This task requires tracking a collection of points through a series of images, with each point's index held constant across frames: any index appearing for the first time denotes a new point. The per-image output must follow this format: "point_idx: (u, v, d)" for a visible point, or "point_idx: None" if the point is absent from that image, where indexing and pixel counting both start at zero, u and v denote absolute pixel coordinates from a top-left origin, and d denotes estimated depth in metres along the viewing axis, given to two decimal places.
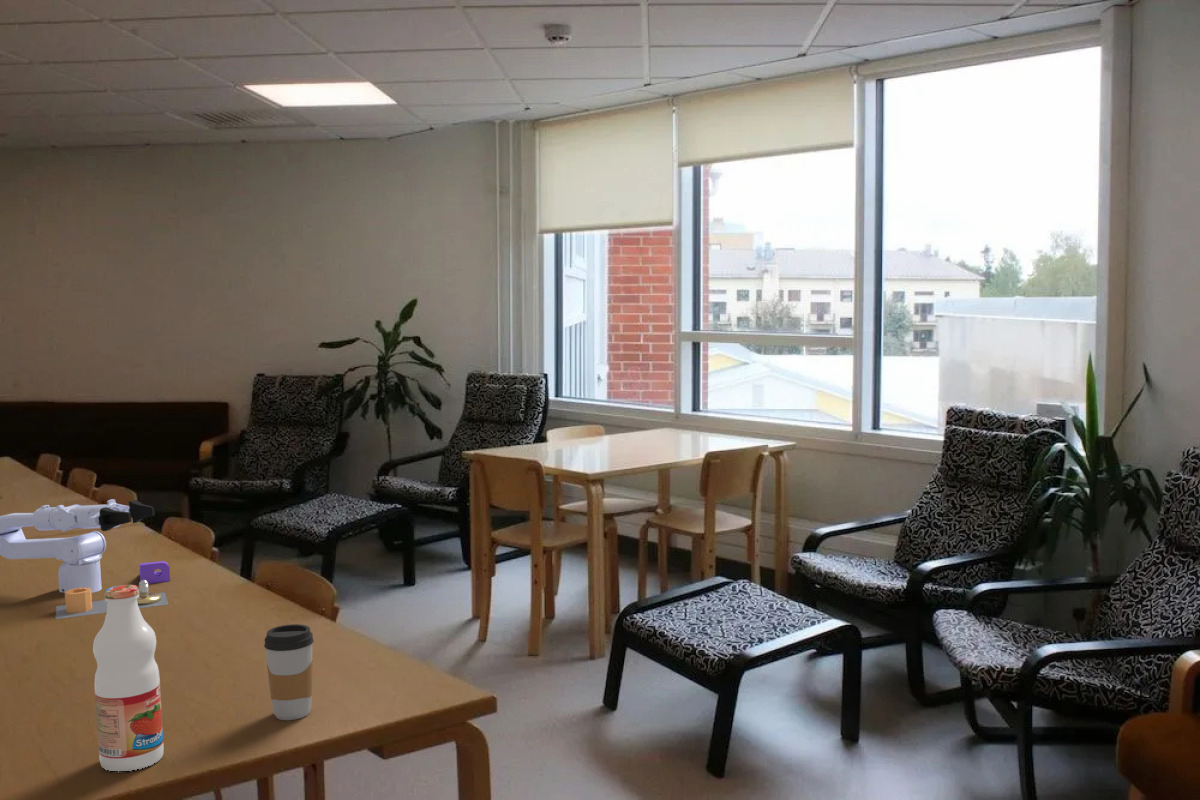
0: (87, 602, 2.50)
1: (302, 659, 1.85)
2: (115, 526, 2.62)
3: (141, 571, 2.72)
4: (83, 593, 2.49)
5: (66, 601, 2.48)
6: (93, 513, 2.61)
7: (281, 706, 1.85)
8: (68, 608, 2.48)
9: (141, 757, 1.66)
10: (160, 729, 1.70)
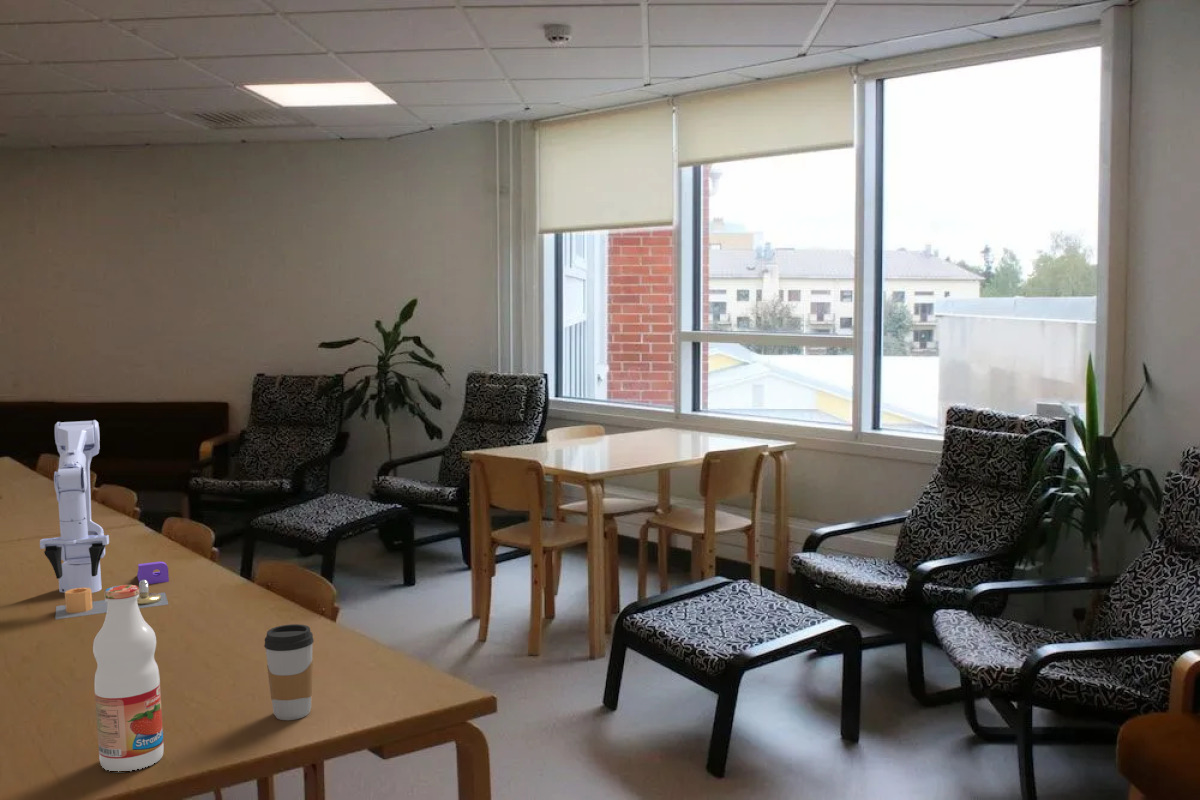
0: (87, 602, 2.50)
1: (302, 659, 1.85)
2: None
3: (140, 572, 2.72)
4: (83, 593, 2.49)
5: (66, 601, 2.48)
6: (60, 526, 2.47)
7: (281, 706, 1.85)
8: (68, 608, 2.48)
9: (141, 757, 1.66)
10: (160, 729, 1.70)
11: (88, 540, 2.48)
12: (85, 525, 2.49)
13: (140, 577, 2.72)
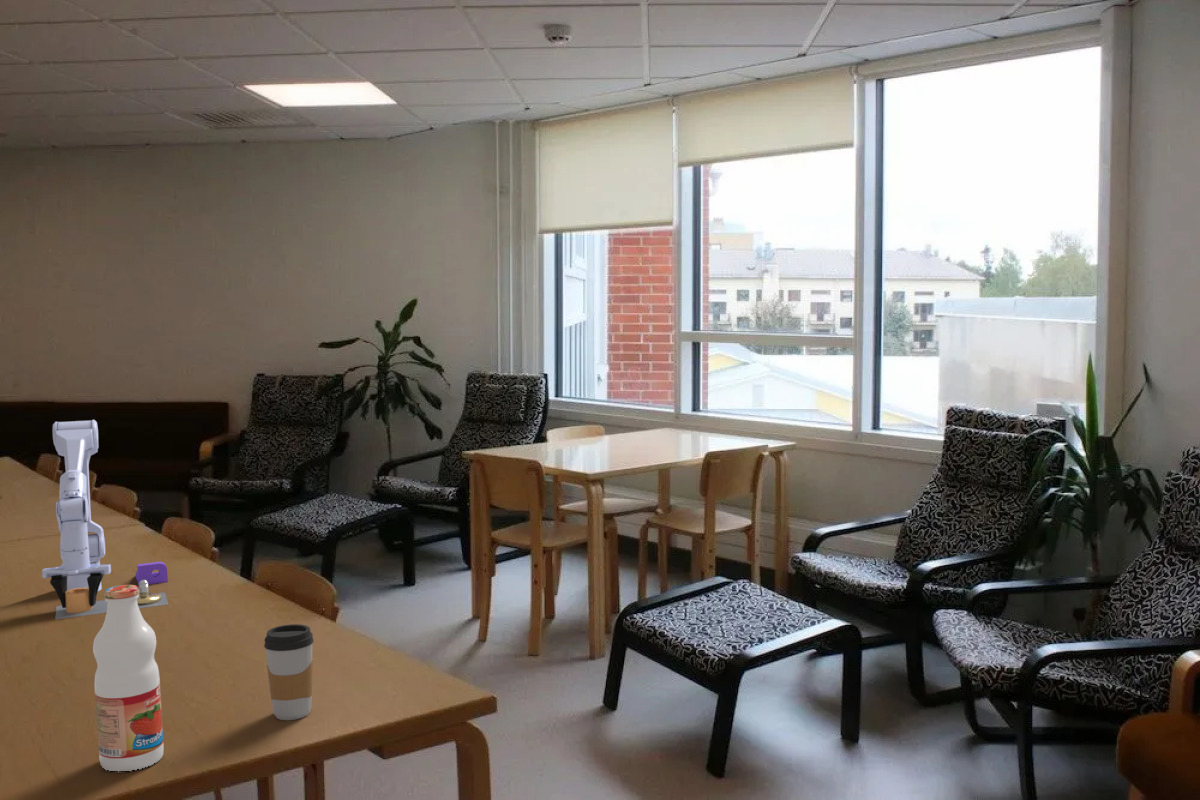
0: (87, 602, 2.50)
1: (302, 659, 1.85)
2: None
3: (139, 572, 2.71)
4: (83, 593, 2.49)
5: (66, 601, 2.48)
6: (62, 556, 2.48)
7: (281, 706, 1.85)
8: (68, 608, 2.48)
9: (141, 757, 1.66)
10: (160, 729, 1.70)
11: (90, 570, 2.49)
12: (87, 554, 2.49)
13: (139, 577, 2.71)
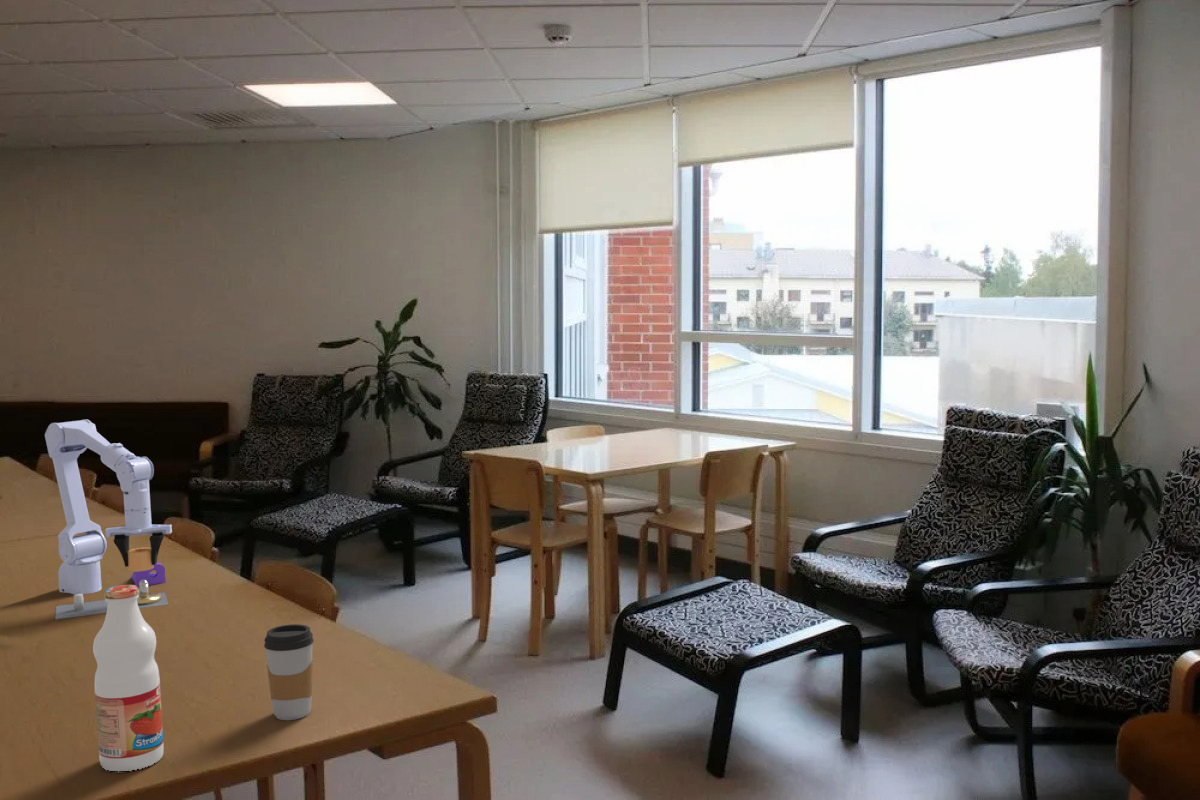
0: (149, 561, 2.55)
1: (302, 659, 1.85)
2: None
3: (137, 573, 2.70)
4: (145, 552, 2.54)
5: (129, 560, 2.54)
6: (125, 515, 2.53)
7: (281, 706, 1.85)
8: (131, 567, 2.53)
9: (141, 757, 1.66)
10: (160, 729, 1.70)
11: (152, 529, 2.54)
12: (149, 514, 2.54)
13: (137, 578, 2.71)
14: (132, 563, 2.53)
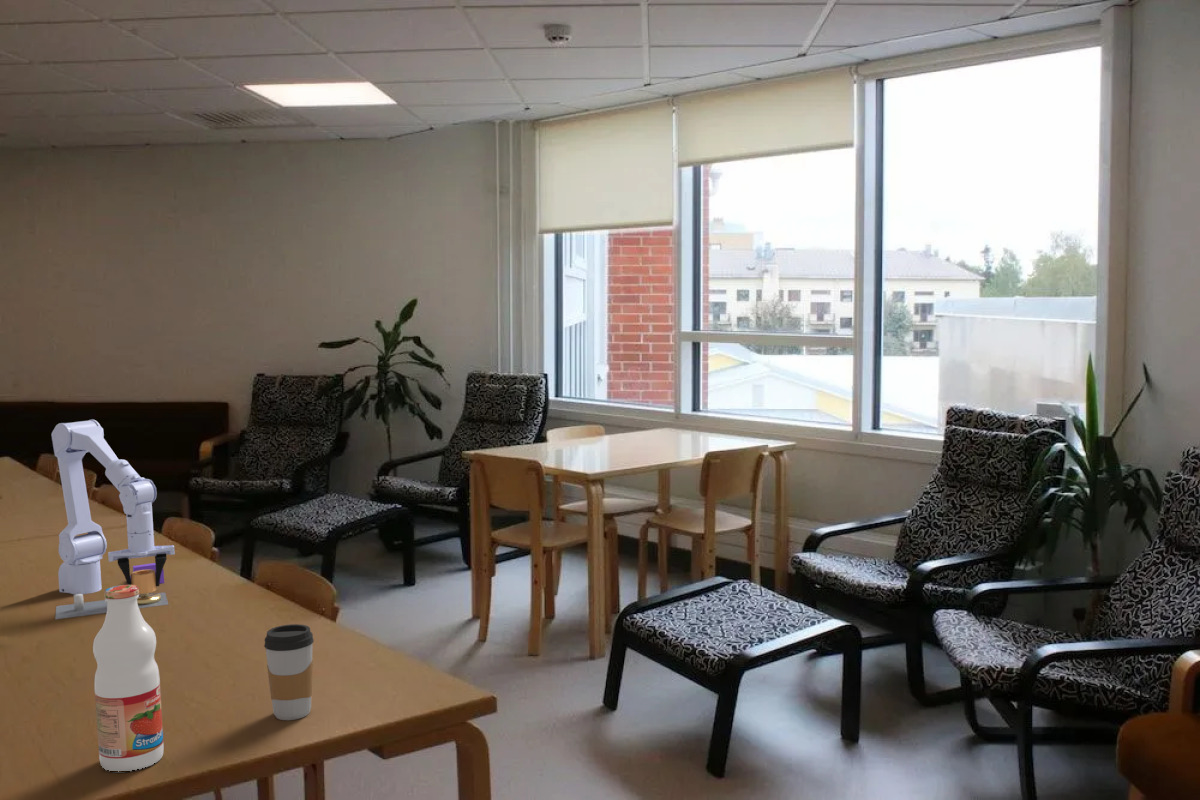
0: (154, 583, 2.56)
1: (302, 659, 1.85)
2: None
3: None
4: (151, 574, 2.55)
5: (133, 582, 2.54)
6: (129, 538, 2.53)
7: (281, 706, 1.85)
8: None
9: (141, 757, 1.66)
10: (160, 729, 1.70)
11: (157, 551, 2.55)
12: (153, 536, 2.56)
13: None
14: (138, 586, 2.54)
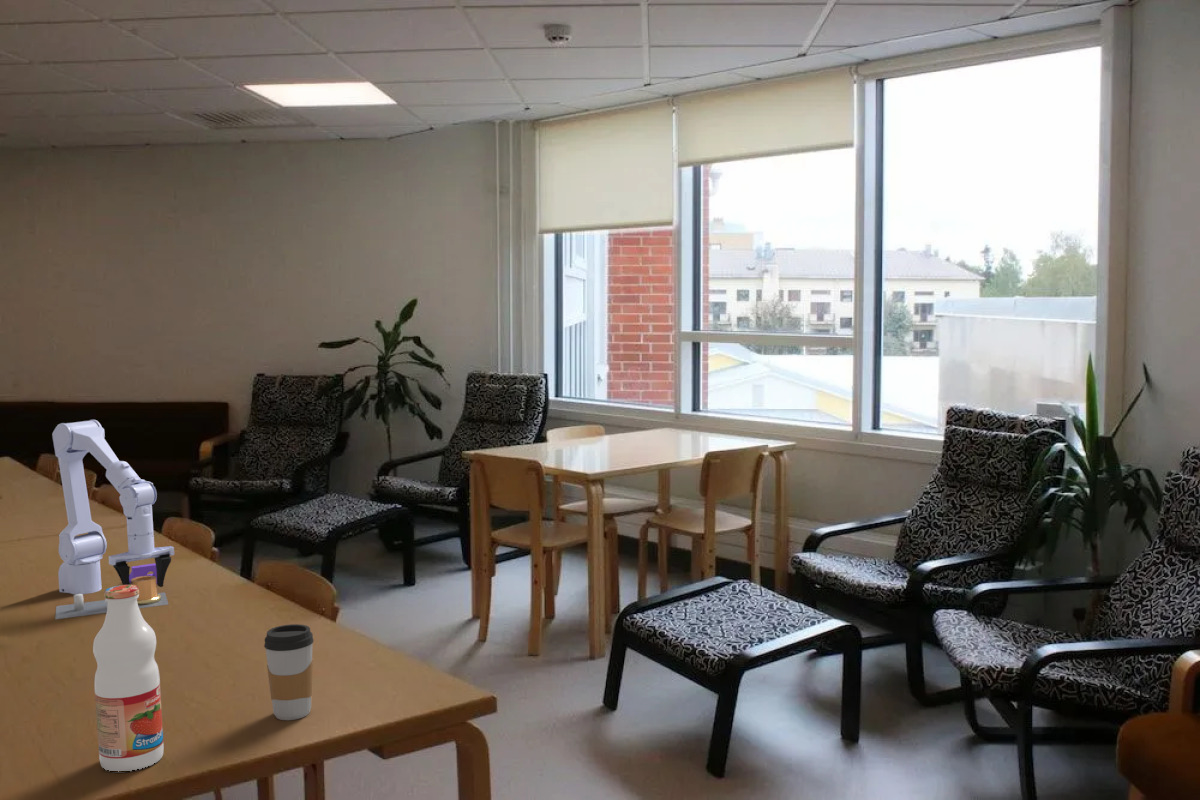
0: (155, 588, 2.57)
1: (302, 659, 1.85)
2: None
3: (134, 574, 2.69)
4: (153, 579, 2.56)
5: None
6: (131, 541, 2.53)
7: (281, 706, 1.85)
8: (139, 596, 2.54)
9: (141, 757, 1.66)
10: (160, 729, 1.70)
11: (159, 552, 2.57)
12: (153, 538, 2.57)
13: None
14: (141, 592, 2.54)
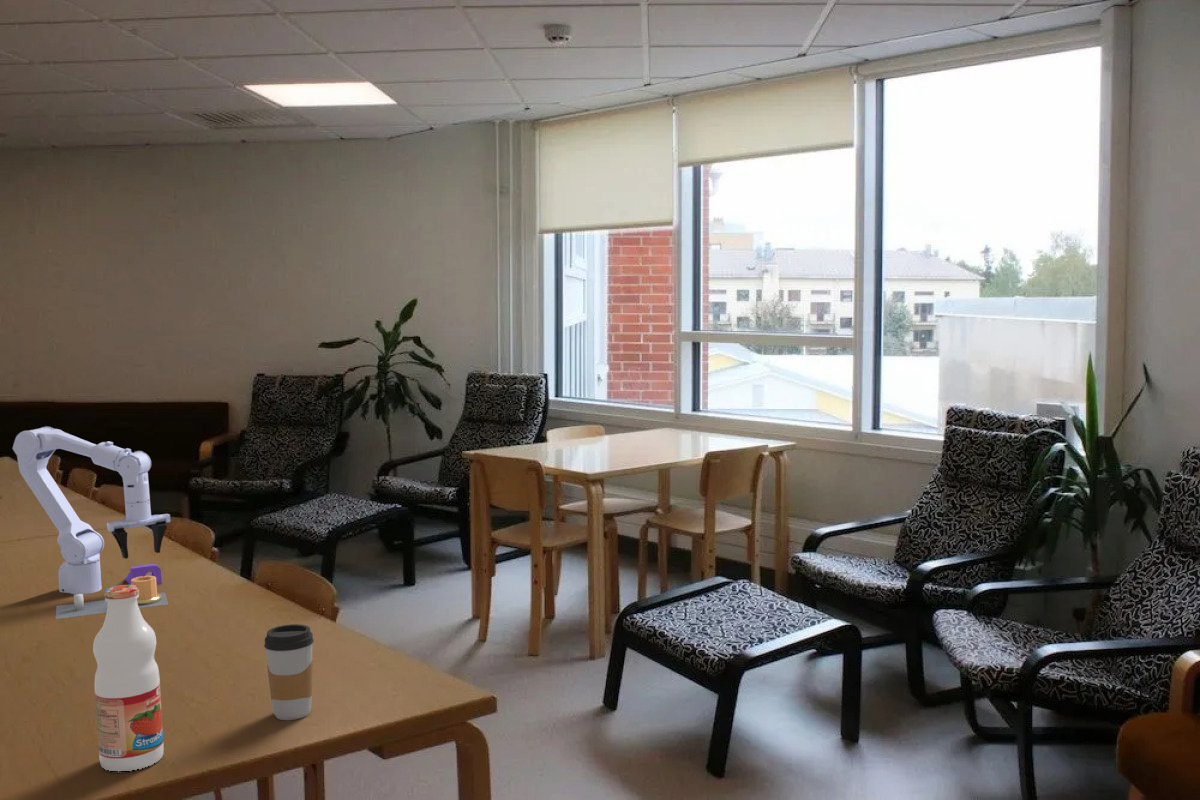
0: (155, 588, 2.57)
1: (302, 659, 1.85)
2: None
3: (133, 574, 2.69)
4: (153, 579, 2.56)
5: None
6: (128, 508, 2.62)
7: (281, 706, 1.85)
8: (139, 596, 2.54)
9: (141, 757, 1.66)
10: (160, 729, 1.70)
11: (156, 519, 2.66)
12: None
13: None
14: (141, 592, 2.54)
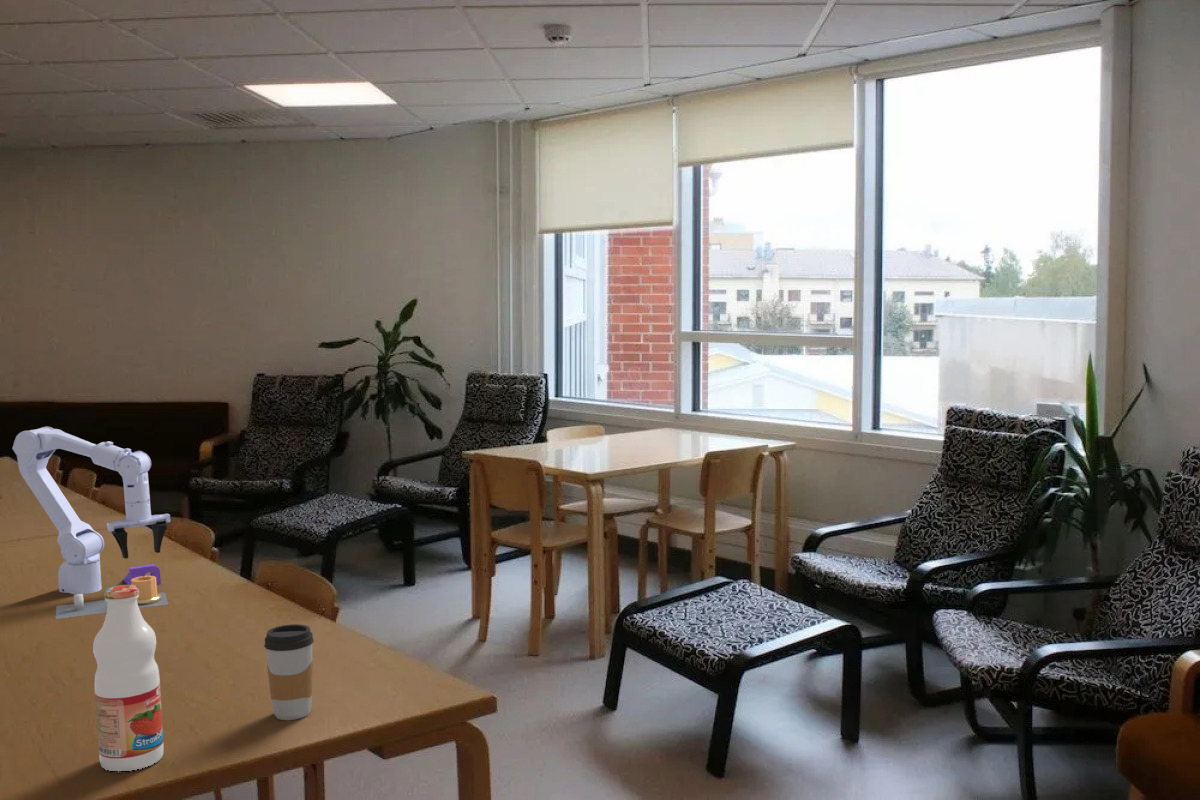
0: (155, 588, 2.57)
1: (303, 659, 1.85)
2: None
3: (132, 575, 2.68)
4: (153, 579, 2.56)
5: None
6: (128, 508, 2.62)
7: (281, 706, 1.85)
8: (139, 596, 2.54)
9: (141, 757, 1.66)
10: (160, 729, 1.70)
11: (156, 519, 2.66)
12: None
13: None
14: (141, 592, 2.54)
